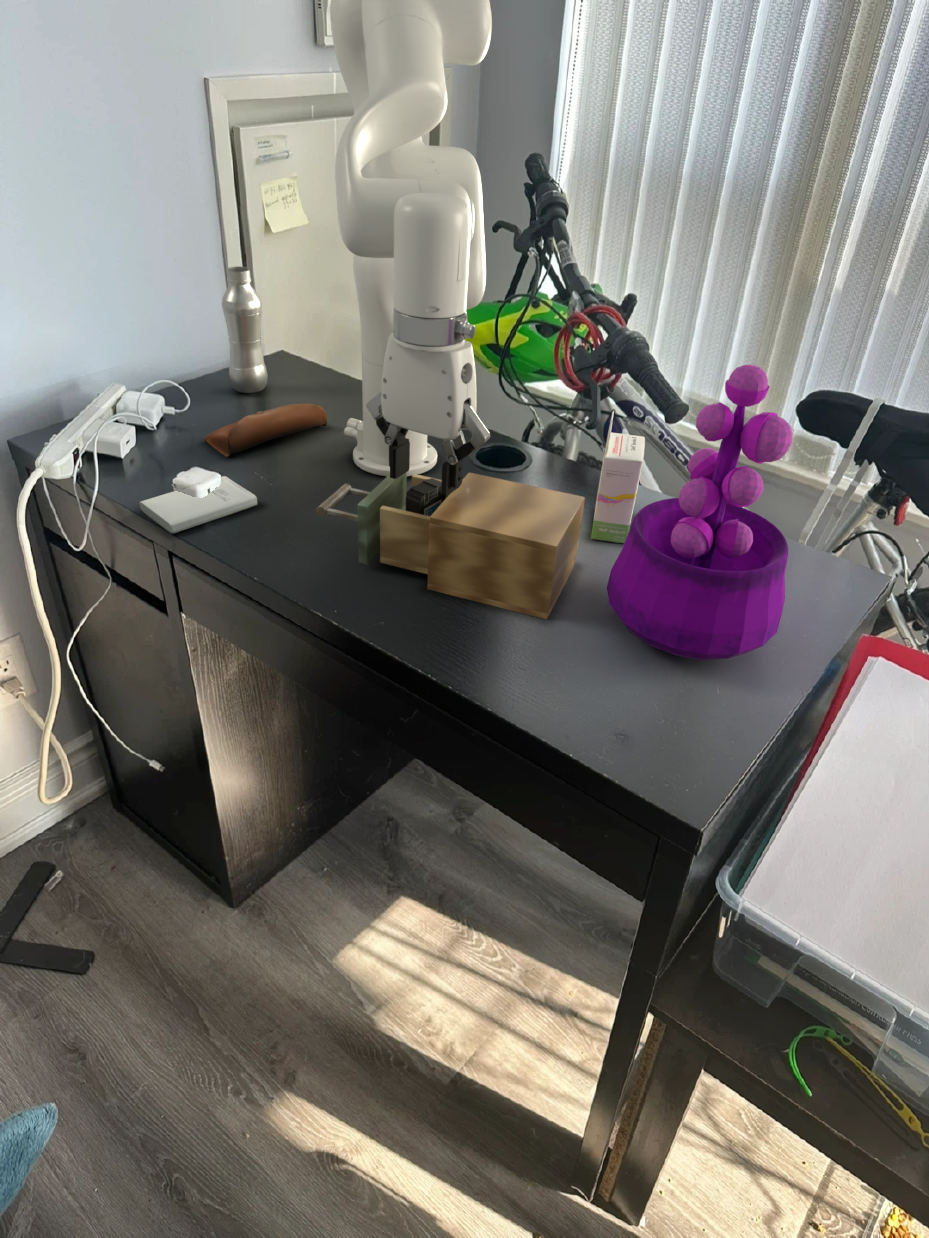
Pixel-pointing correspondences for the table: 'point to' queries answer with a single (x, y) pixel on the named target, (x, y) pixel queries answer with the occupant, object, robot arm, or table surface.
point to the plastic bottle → (244, 332)
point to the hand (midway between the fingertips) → (424, 481)
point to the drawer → (386, 524)
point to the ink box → (618, 486)
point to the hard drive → (197, 506)
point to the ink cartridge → (424, 497)
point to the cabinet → (504, 544)
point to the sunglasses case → (265, 427)
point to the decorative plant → (710, 542)
